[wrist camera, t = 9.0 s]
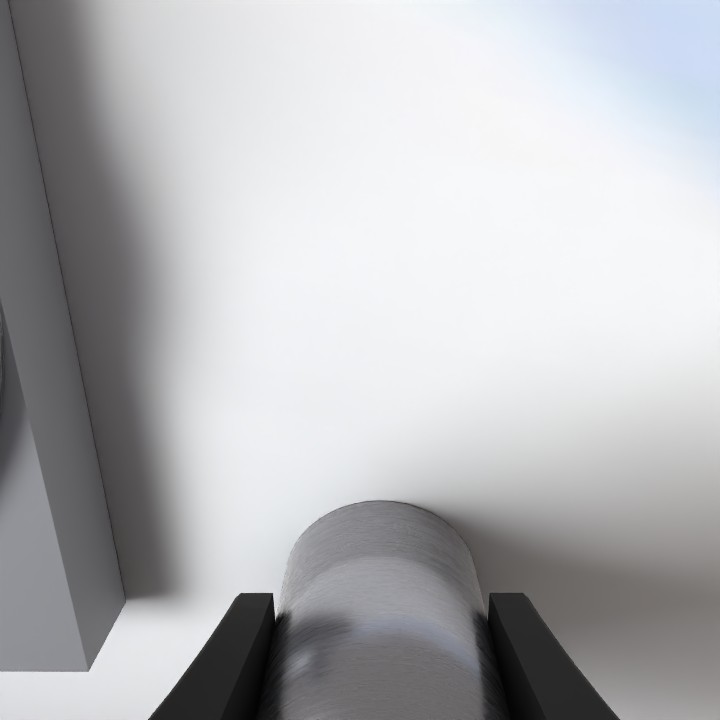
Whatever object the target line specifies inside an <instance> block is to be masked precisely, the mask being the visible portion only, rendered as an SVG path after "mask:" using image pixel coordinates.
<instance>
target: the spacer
mask: <svg viewBox="0 0 720 720" xmlns="http://www.w3.org/2000/svg"><path fill="white" fill-rule="evenodd" d="M256 720H511V719H510V714H509V710H508V706H507V702H506V697H505V693H504V689H503V685H502V680H501V676H500V672H499V668H498V663H497V659H496V655H495V651H494V646H493V642H492V638H491V634H490V629H489V625H488V621H487V617H486V612H485V608H484V604H483V600H482V595H481V591H480V587H479V583H478V578H477V574H476V570H475V566H474V562H473V559H472V556H471V553H470V551H469V549H468V547H467V546H466V544H465V542H464V541H463V539H462V538H461V537H460V535H459V534H458V533H457V532H456V531H455V530H454V529H453V528H452V527H451V526H450V525H449V524H447V523H446V522H445V521H443V520H442V519H441V518H439V517H437V516H435V515H434V514H432V513H430V512H428V511H426V510H423V509H421V508H418V507H415V506H412V505H408V504H404V503H398V502H390V501H371V502H362V503H357V504H352V505H349V506H345V507H342V508H339V509H337V510H335V511H333V512H330V513H328V514H327V515H325V516H323V517H322V518H320V519H319V520H317V521H316V522H315V523H313V524H312V525H311V526H310V527H309V528H308V529H307V530H306V531H305V532H304V533H303V534H302V535H301V537H300V538H299V539H298V541H297V542H296V544H295V545H294V547H293V549H292V551H291V554H290V557H289V560H288V563H287V568H286V573H285V577H284V582H283V587H282V592H281V597H280V602H279V607H278V612H277V617H276V622H275V626H274V631H273V636H272V641H271V646H270V651H269V656H268V661H267V666H266V671H265V675H264V680H263V685H262V690H261V695H260V700H259V705H258V710H257V715H256Z"/></svg>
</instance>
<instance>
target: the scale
mask: <svg viewBox="0 0 720 720" xmlns="http://www.w3.org/2000/svg"><path fill="white" fill-rule="evenodd" d="M0 315H1V321H2V327H3V341H4V371H5V381H4V390H3V399H2V407H1V416H0V671H39V672H89V670H90V668H91V666H92V664H93V662H94V660H95V659H96V657H97V655H98V653H99V651H100V649H101V647H102V645H103V644H104V642H105V640H106V638H107V636H108V634H109V632H110V631H111V629H112V627H113V625H114V623H115V621H116V619H117V617H118V616H119V614H120V612H121V610H122V608H123V606H124V604H125V603H126V600H125V595H124V590H123V585H122V580H121V575H120V570H119V565H118V560H117V555H116V549H115V544H114V539H113V534H112V529H111V524H110V519H109V514H108V509H107V504H106V498H105V493H104V488H103V483H102V478H101V473H100V468H99V463H98V458H97V453H96V447H95V442H94V437H93V432H92V427H91V422H90V417H89V412H88V407H87V402H86V396H85V391H84V386H83V381H82V376H81V371H80V366H79V361H78V356H77V351H76V345H75V340H74V335H73V330H72V325H71V320H70V315H69V310H68V305H67V300H66V295H65V289H64V284H63V279H62V274H61V269H60V264H59V259H58V254H57V249H56V244H55V238H54V233H53V228H52V223H51V218H50V213H49V208H48V203H47V198H46V193H45V187H44V182H43V177H42V172H41V167H40V162H39V157H38V152H37V147H36V142H35V136H34V131H33V126H32V121H31V116H30V111H29V106H28V101H27V96H26V91H25V85H24V80H23V75H22V70H21V65H20V60H19V55H18V50H17V45H16V40H15V34H14V29H13V24H12V19H11V14H10V9H9V4H8V0H0Z"/></svg>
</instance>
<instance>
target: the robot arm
mask: <svg viewBox="0 0 720 720" xmlns="http://www.w3.org/2000/svg"><path fill="white" fill-rule="evenodd" d="M488 625H489V629H490V634H491V638H492V642H493V646H494V651H495V655H496V659H497V663H498V668H499V672H500V676H501V680H502V685H503V689H504V693H505V697H506V702H507V706H508V710H509V714H510V719H511V720H620V719H619V718H618V717H617V716H616V715H615V713H614V712H613V711H612V710H611V709H610V707H609V706H608V705H607V704H606V703H605V701H604V700H603V699H602V698H601V697H600V695H599V694H598V693H597V691H596V690H595V689H594V688H593V686H592V685H591V684H590V683H589V681H588V680H587V679H586V678H585V676H584V675H583V674H582V673H581V671H580V670H579V669H578V668H577V666H576V665H575V664H574V662H573V661H572V660H571V658H570V657H569V656H568V654H567V653H566V652H565V650H564V649H563V648H562V646H561V645H560V644H559V642H558V641H557V639H556V638H555V637H554V635H553V634H552V632H551V631H550V630H549V628H548V627H547V625H546V624H545V623H544V621H543V620H542V618H541V617H540V615H539V614H538V612H537V611H536V609H535V608H534V606H533V605H532V603H531V602H530V600H529V599H528V598H527V597H526V596H525V595H524V594H523V593H490V597H489V612H488ZM274 626H275V612H274V601H273V593H241V594H239V595H238V596H237V597H236V598H235V600H234V601H233V603H232V604H231V606H230V608H229V609H228V611H227V612H226V614H225V616H224V617H223V619H222V620H221V622H220V623H219V625H218V626H217V628H216V629H215V631H214V632H213V634H212V635H211V637H210V638H209V640H208V641H207V643H206V644H205V645H204V647H203V648H202V650H201V651H200V653H199V654H198V655H197V657H196V658H195V659H194V661H193V662H192V664H191V665H190V666H189V668H188V669H187V670H186V672H185V673H184V674H183V676H182V677H181V678H180V680H179V681H178V683H177V684H176V685H175V687H174V688H173V689H172V690H171V692H170V693H169V694H168V696H167V697H166V698H165V699H164V701H163V702H162V703H161V704H160V705H159V707H158V708H157V709H156V710H155V712H154V713H153V714H152V715H151V717H150V718H149V719H148V720H256V715H257V710H258V705H259V700H260V695H261V690H262V685H263V680H264V675H265V671H266V666H267V661H268V656H269V651H270V646H271V641H272V636H273V631H274Z"/></svg>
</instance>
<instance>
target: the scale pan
mask: <svg viewBox="0 0 720 720" xmlns="http://www.w3.org/2000/svg"><path fill="white" fill-rule="evenodd" d="M4 381H5V371H4V341H3V327H2V321H1V315H0V416H1V407H2V399H3V390H4Z"/></svg>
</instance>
